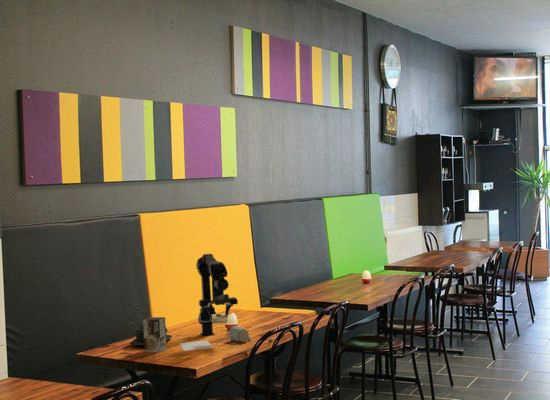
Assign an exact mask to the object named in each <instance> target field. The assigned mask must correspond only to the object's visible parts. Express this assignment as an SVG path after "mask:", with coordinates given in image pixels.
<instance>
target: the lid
mask: <svg viewBox="0 0 550 400" xmlns="http://www.w3.org/2000/svg"><path fill="white" fill-rule="evenodd" d="M210 319H211V318H210ZM211 321H212V322H213V323H212V324H222V323H223V324H224V323H228V321H229V320H228V316H227V317H226V315H225V313H216V314H213V315H212V320H211Z"/></svg>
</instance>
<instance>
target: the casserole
mask: <svg viewBox="0 0 550 400" xmlns="http://www.w3.org/2000/svg"><path fill="white" fill-rule="evenodd" d="M165 327H166V342H168V341H169V340H170V339H171V338H173V336H172V334H167V333H168V331H169V330H168V328H167V326H166V325H165ZM133 334H135V338H134V339H133V340H132V341H130V342H129V344H130V346H131V345H132V346H138V347H139V346H141V347H142V346H144V328H143V325H140V326H138V327H137V326H136V328H135V330H134V332H133Z"/></svg>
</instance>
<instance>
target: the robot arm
mask: <svg viewBox="0 0 550 400" xmlns="http://www.w3.org/2000/svg"><path fill="white" fill-rule="evenodd" d="M195 266H196V270H197V273H198V274H199V275H200V277H201V278H200V279H201V281H200V282H201V295H202V296H201V297H202V298H201V299H199V300H198V305H199V306H200V309H199V314H198V318H197V322H198V324H199V325H201V332H200V335H201V336H202V337H203V336H204V337H205V336H206V337H207V336H215V333H214V329H213V324H214V323H213V322H212V321H211V320H212V315H213V314H217V313H216V308H215V307H214V306H213V305H215V306H220V305H223V306H224V305H225V312H224V314H225V315H226V317H227V318H228V316H229V315H228V314H229V312H230V310H231V308H232V307H234V305H238V301H239V300H238V298H237V297H235V296H234V297H233V296H232V297H230V295H229V294H228V293H226V294H225V293H224V291H226V290H227V289H229V281H228V279H225V278H226V277H228V271H227V267H226V266H225V264H224V263H223V262H222V261H218V260H216V258H215V257H214V254H212V253H204V254H202V256H201V257H199V258H198V259H197V261H196V265H195ZM210 318H211V319H210Z"/></svg>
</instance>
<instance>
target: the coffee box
mask: <svg viewBox="0 0 550 400" xmlns="http://www.w3.org/2000/svg"><path fill="white" fill-rule="evenodd" d="M142 324H143V325H142V326H143V328H144V353H162V352H164V351H166V350H167V349H168V348H167V341H166V335H167V333H166V329H167V326H166V317H164V316H163V317H161V316H148V317H147V318H144V319H142ZM165 326H166V327H165Z"/></svg>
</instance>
